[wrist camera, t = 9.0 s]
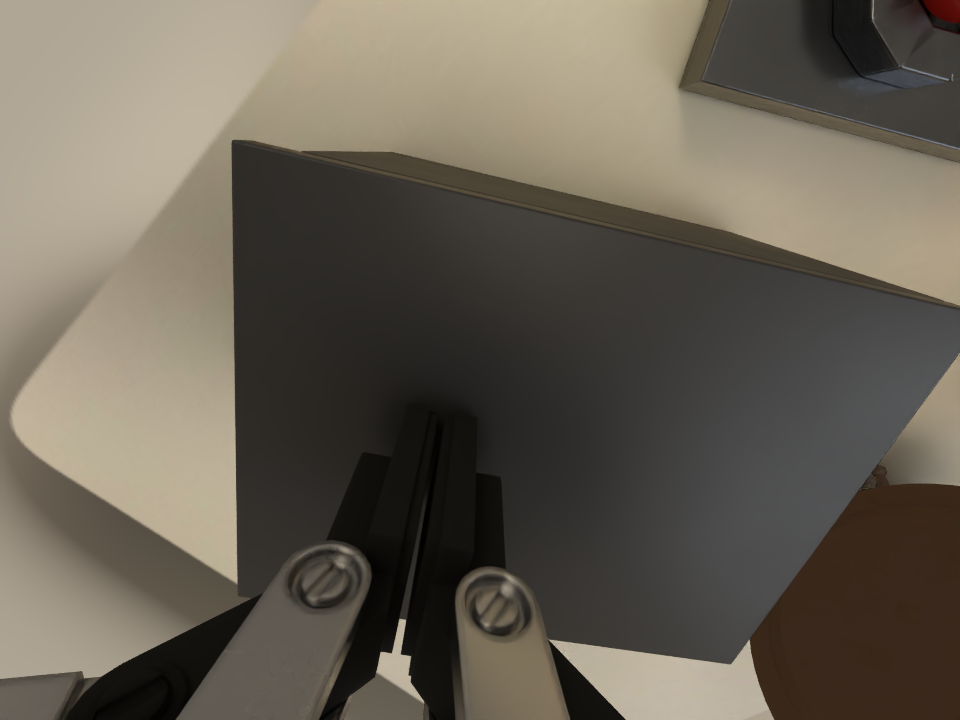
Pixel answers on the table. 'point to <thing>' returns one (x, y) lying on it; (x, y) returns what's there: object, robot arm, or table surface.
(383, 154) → the charcoal storage box
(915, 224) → the table surface
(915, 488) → the alarm clock
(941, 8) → the button
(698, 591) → the lid
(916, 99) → the control block
